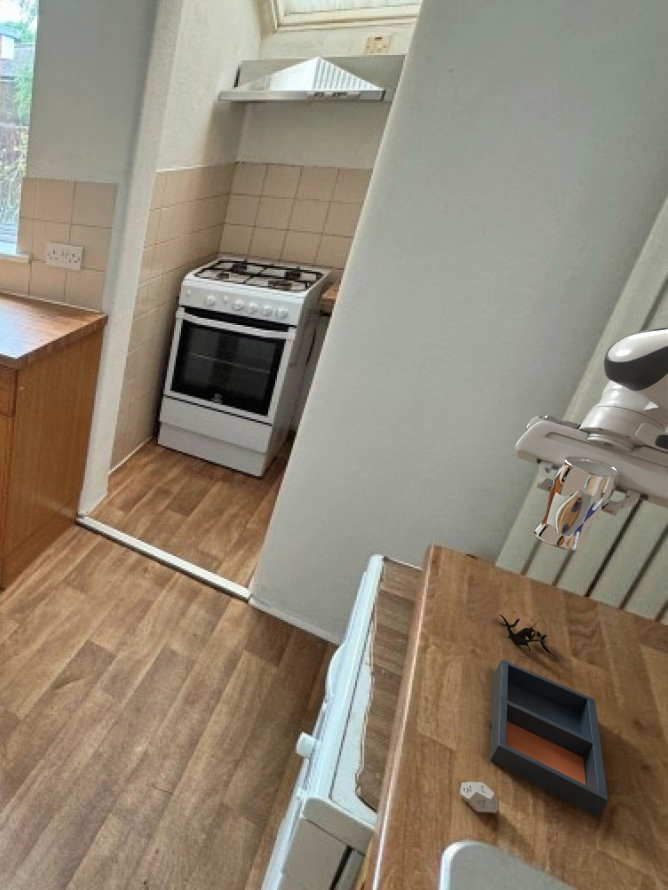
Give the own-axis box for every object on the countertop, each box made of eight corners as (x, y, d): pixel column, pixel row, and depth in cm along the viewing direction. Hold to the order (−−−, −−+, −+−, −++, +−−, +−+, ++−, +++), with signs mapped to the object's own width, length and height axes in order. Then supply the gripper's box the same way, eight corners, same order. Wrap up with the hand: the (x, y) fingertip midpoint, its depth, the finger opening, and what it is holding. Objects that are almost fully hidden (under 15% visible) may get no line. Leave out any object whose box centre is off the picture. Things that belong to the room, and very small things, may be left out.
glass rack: (493, 675, 94) (501, 658, 93) (584, 716, 88) (595, 699, 87) (488, 763, 81) (498, 745, 80) (595, 819, 75) (608, 800, 74)
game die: (492, 802, 77) (501, 787, 75) (493, 827, 74) (502, 811, 73) (456, 784, 79) (464, 769, 78) (456, 807, 76) (465, 791, 75)
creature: (504, 626, 105) (481, 630, 102) (520, 601, 104) (496, 604, 101) (562, 661, 99) (538, 666, 95) (579, 635, 97) (556, 640, 94)
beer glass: (592, 558, 100) (631, 481, 95) (536, 543, 104) (570, 469, 98) (577, 535, 106) (613, 462, 100) (524, 522, 109) (556, 451, 104)
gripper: (536, 403, 109) (496, 464, 108) (713, 453, 92) (668, 525, 91) (535, 420, 113) (496, 478, 111) (705, 470, 96) (662, 539, 95)
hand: (575, 500), depth 101 cm, fingers closed on beer glass, 7 cm apart
